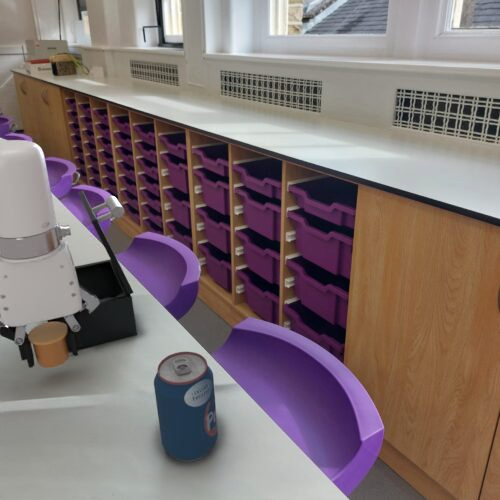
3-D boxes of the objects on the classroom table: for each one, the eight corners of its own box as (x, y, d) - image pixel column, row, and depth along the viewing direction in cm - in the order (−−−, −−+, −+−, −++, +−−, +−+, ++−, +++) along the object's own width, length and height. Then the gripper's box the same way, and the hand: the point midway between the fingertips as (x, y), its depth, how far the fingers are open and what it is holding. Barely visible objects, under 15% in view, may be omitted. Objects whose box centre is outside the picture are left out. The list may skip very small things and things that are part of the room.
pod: (29, 370, 67) (22, 343, 65) (40, 347, 72) (34, 322, 70) (67, 368, 68) (62, 341, 66) (76, 346, 72) (71, 320, 70)
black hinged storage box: (57, 364, 76) (46, 316, 73) (50, 316, 90) (40, 273, 86) (138, 342, 81) (131, 296, 77) (120, 299, 94) (113, 258, 91)
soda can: (225, 456, 59) (219, 377, 54) (168, 473, 57) (157, 392, 52) (209, 417, 65) (203, 343, 60) (158, 431, 63) (147, 355, 58)
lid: (91, 221, 70) (124, 206, 72) (77, 192, 83) (106, 180, 85) (129, 295, 77) (158, 280, 78) (111, 257, 90) (137, 245, 92)
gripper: (92, 220, 68) (109, 328, 76) (-46, 241, 62) (-13, 357, 70) (101, 239, 62) (118, 355, 70) (-52, 265, 56) (-14, 389, 63)
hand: (53, 355), depth 70 cm, fingers closed on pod, 5 cm apart
